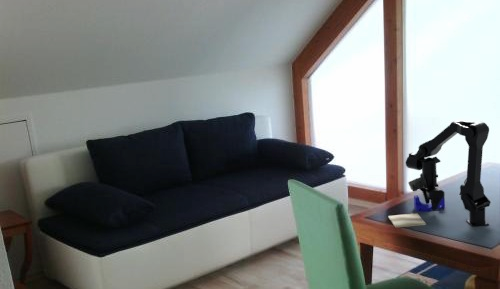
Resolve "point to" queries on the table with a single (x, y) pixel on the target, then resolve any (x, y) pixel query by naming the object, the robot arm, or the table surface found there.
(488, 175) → the table surface
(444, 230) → the table surface
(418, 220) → the pad
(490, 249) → the table surface
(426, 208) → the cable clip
